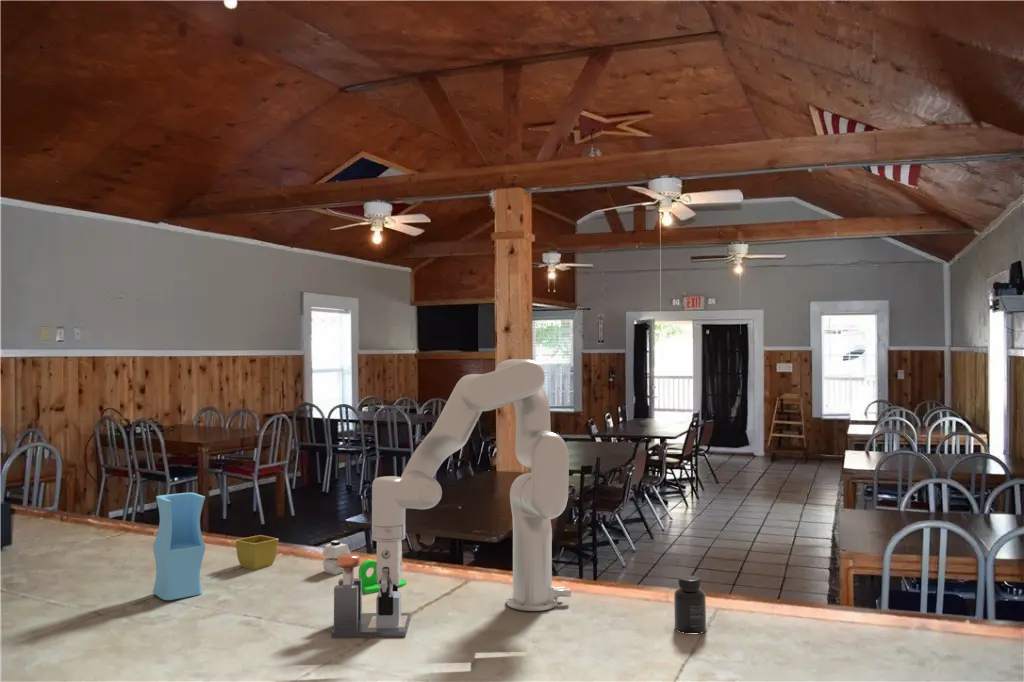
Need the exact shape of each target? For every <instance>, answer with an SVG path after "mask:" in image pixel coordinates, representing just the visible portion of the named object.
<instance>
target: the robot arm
mask: <svg viewBox="0 0 1024 682" xmlns="http://www.w3.org/2000/svg"><path fill="white" fill-rule="evenodd" d="M545 377H546V376H545V371H544V368H543V367H542V365H541V364H539V363H538V362H536V361H535V360H532V359H525V358H524V359H523V358H521V359H517V358H511V359H506V360H503V361H501V362H499V364H497V366H496V367H495V370H494V371H490V372H486V373H483V374H482V373H479V374H478V373H471V374H466V375H464V376H462V377H461V378H460V379H459V380H458V381H457V382H456V385H455V386H454V387H453V390H452V392H451V394H450V396H449V398H448V399H447V402H446V403H445V405H444V407H443V409H442V411H441V412H440V414H439V416H438V418H437V419H436V422H435V424H434V426H433V427H432V429H431V430H430V431H429V432H428V433H427V435H426V436H425V437H424V439H423V440H422V441H421V442H420V443H419V444H418V446H417V447H416V449H415V450H414V451H413V453H412V455H411V457H410V458H409V460H408V462H407V464H406V466H405V467H404V469H403V471H402V474H401V476H396V475H395V476H394V475H390V476H389V475H388V476H386V475H385V476H379V477H376V478H375V479H373V481H372V484H371V486H372V487H371V498H372V499H371V539H372V541H374V542H376V562H377V584H378V585H379V586H380V589H379V592H378V593H379V597H378V615H380V616H382V615H393V596H392V591H399V587H398V585H399V584H400V581H401V578H402V579H403V549H402V546H403V545H402V541H403V540H405V539H406V509H413V510H414V509H416V510H428V509H431V508H434V507H435V506H437V505H438V504H439V502H440V501H441V499H442V495H443V490H442V486H441V484H440V483H439V481H438V480H437V479H435V478H434V477H435V475H436V474H437V471H438V470H439V469H440V467H441V465H442V464H443V462H445V460H446V459H447V458H449V457H450V456H451V455H452V454H454V453H456V452H458V451H459V450H460V449H461V448H463V447H464V446H465V445H466V444H467V442H468V440H469V439H470V437H471V434H472V432H473V430H474V428H475V426H476V424H477V422H478V421H479V419H480V417H481V415H482V413H483V412H489V411H493V410H496V409H499V408H502V407H505V406H508V405H510V404H513V406H514V409H515V445H514V446H515V447H514V448H515V457H516V459H517V461H518V462H519V463H520V464H521V465H522V466H523V467H526V468H529V469H531V471H530V472H526V473H522V474H520V475H519V476H517V477H516V478H515V479H514V481H513V482H512V484H511V486H510V490H509V502H510V509H511V515H512V594H510V595H508V596H507V597H506V604H507V606H508V607H510V608H511V609H515V610H518V611H526V612H527V611H528V612H540V611H546V610H547V611H548V610H552V609H554V608H556V607H557V606H558V605H559V598H560V597H561V598H571V597H572V591H571V590H572V589H571V588H566V587H564V586H561V587H556V586H555V585H554V583H553V580H552V579H553V578H552V577H553V576H552V575H553V574H552V573H553V571H552V568H553V565H552V562H553V561H552V559H553V557H552V551H553V550H552V547H553V546H552V545H553V544H552V540H553V531H552V530H553V529H552V522H551V521H552V520H554V519H557V517H559V516H560V515H562V514H563V512H564V511H565V510H566V507H567V503H568V500H569V486H570V485H569V483H570V482H569V481H570V480H569V476H570V473H569V471H570V456H569V449H568V446H567V444H566V441H565V440H564V439H563V438H562V437H561V435H559V434H557V433H555V432H552V430H551V408H550V407H551V406H550V400H549V398H548V395H547V392H546V390H545V388H544V386H543V385H544V384H545V380H546V379H545Z"/></svg>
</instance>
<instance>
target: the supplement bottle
mask: <svg viewBox="0 0 1024 682" xmlns="http://www.w3.org/2000/svg"><path fill="white" fill-rule="evenodd" d="M677 587H679V588H677V589H676V590H675V592H674V594H673V600H674V601H673V602H674V603H673V604H674V606H673V607H674V629H675V631H677V630H678V631H680V632H684V633H701V632H704V631H705V630H706V631H707V613H706V612H707V611H706V610H707V607H706V604H707V601H706V594H705V592H704V591H703V590H702V589H701V587H702V584H701V578H700V577H698V576H695V575H681V576H679V577H678V585H677ZM678 631H677V632H678ZM706 631H705V632H706ZM680 632H679V633H680ZM705 632H704V633H705Z"/></svg>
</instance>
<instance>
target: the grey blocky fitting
mask: <svg viewBox="0 0 1024 682" xmlns="http://www.w3.org/2000/svg"><path fill="white" fill-rule="evenodd" d="M342 554H351V551H350V549H349V545H348V544H345V543H341V541H340V540H332V541H331V542H330V543H328V544H326V545H324V547H323V551H322V557H327V558H324V559H323V561H322V564H323V569H324V571H325V573H326V574H330V575H338V574H343V568H340V567H337V556H339V555H342Z"/></svg>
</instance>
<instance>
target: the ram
mask: <svg viewBox="0 0 1024 682" xmlns="http://www.w3.org/2000/svg"><path fill="white" fill-rule="evenodd" d="M360 559H361V557H360V554H358V553H350V554H342V555H339V556H337V567H340V568H343V572H342V579H343V585H354V579H355V576H354V575H355V568H357V567H360V565H361V563H360V561H361V560H360Z"/></svg>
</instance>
